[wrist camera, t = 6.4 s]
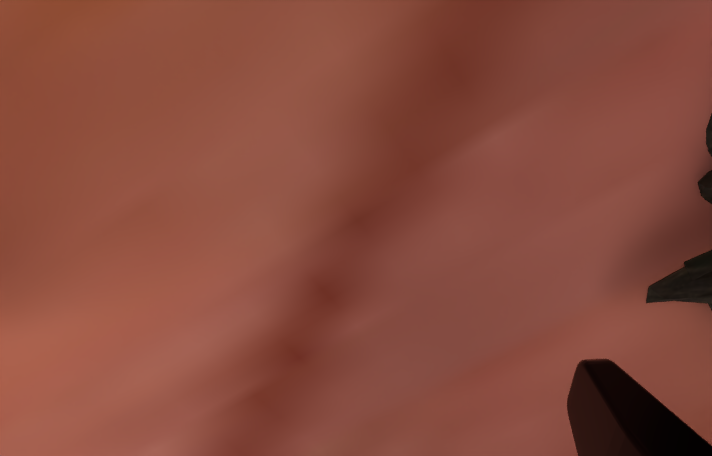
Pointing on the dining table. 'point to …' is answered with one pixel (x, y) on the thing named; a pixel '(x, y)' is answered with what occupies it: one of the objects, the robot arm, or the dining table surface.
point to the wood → (690, 262)
